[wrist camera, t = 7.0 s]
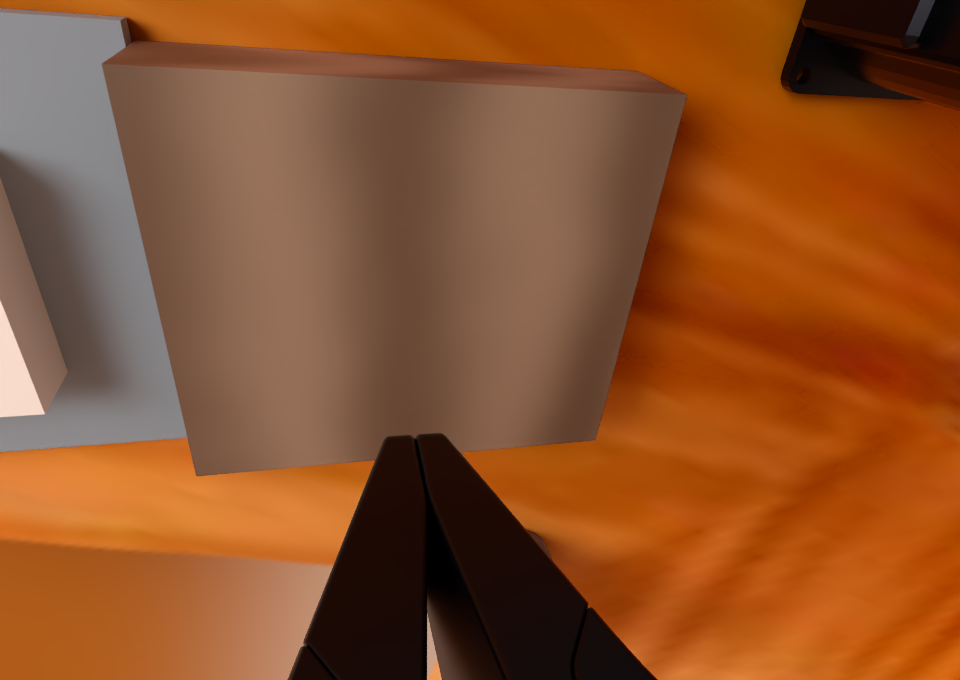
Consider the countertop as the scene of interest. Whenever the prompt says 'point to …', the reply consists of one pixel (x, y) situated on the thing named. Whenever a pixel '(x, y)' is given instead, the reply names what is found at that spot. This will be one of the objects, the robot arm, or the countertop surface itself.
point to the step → (387, 243)
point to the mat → (81, 235)
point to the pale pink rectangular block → (24, 329)
